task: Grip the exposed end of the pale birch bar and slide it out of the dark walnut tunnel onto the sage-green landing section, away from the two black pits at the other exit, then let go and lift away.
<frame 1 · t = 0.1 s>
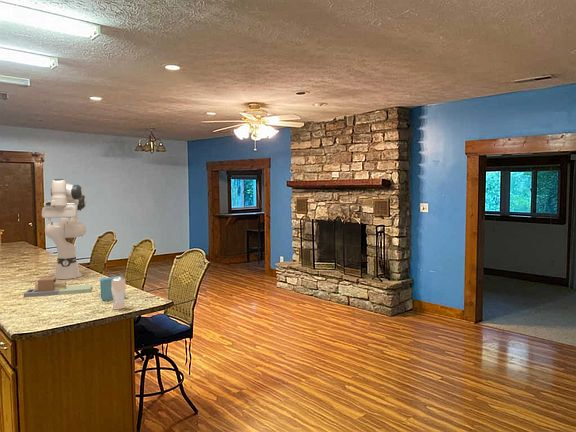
hand: (59, 224, 289), 39 cm above the countertop, tool pointing down, fingers open, 8 cm apart
data package: (113, 299, 250), on the countertop
birch bar: (51, 289, 267), point 2 cm above the countertop, touching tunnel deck
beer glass: (119, 308, 231), on the countertop
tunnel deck: (59, 292, 268), on the countertop
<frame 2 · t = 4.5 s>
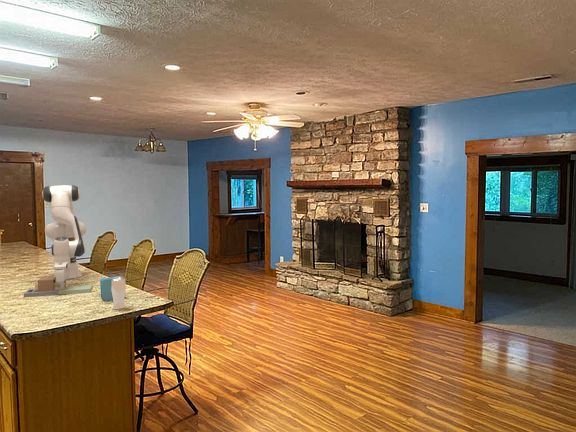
hand: (63, 287, 269), 3 cm above the countertop, tool pointing down, fingers closed on birch bar, 4 cm apart
birch bar: (51, 289, 267), point 2 cm above the countertop, touching gripper, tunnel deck
everything else where it was.
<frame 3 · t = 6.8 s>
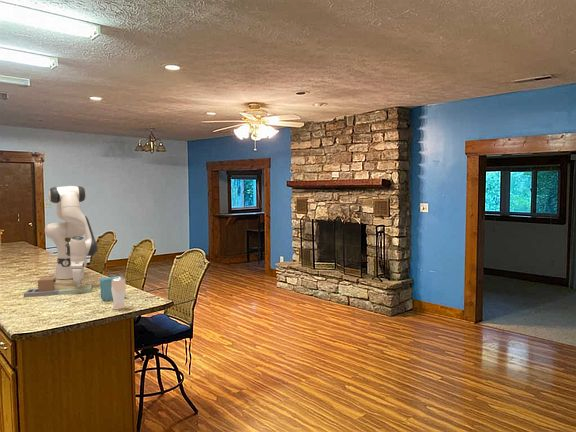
hand: (79, 286, 271), 3 cm above the countertop, tool pointing down, fingers closed on birch bar, 4 cm apart
birch bar: (65, 288, 269), point 2 cm above the countertop, touching gripper, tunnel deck
everything else where it was.
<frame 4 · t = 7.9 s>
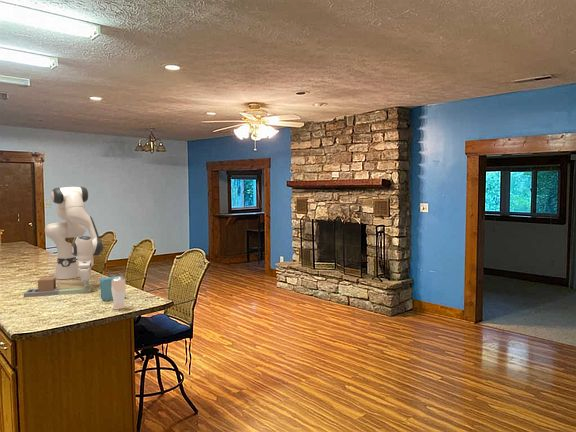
hand: (86, 285, 273), 3 cm above the countertop, tool pointing down, fingers closed on birch bar, 4 cm apart
birch bar: (72, 288, 270), point 2 cm above the countertop, touching gripper, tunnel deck
everything else where it was.
when the fingers open (3 cm above the countertop, at t = 8.9 s): birch bar stays where it is, resting on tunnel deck.
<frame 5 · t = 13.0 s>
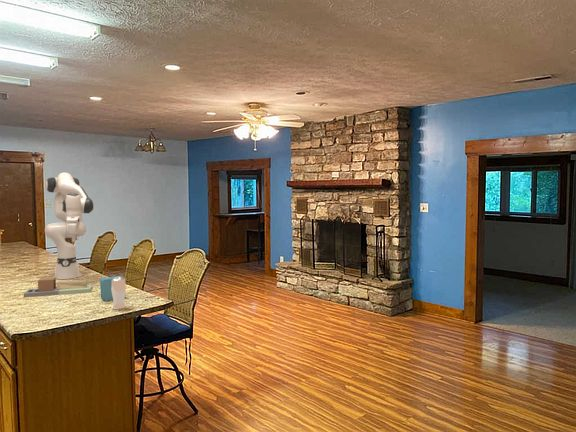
hand: (74, 240, 282), 29 cm above the countertop, tool pointing down, fingers open, 8 cm apart
birch bar: (72, 288, 270), point 2 cm above the countertop, touching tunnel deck
everything else where it was.
at the end: birch bar inside the target area (2.8 cm from its centre), point 2.0 cm above the countertop; birch bar tilted 0°; the gripper is holding nothing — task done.
